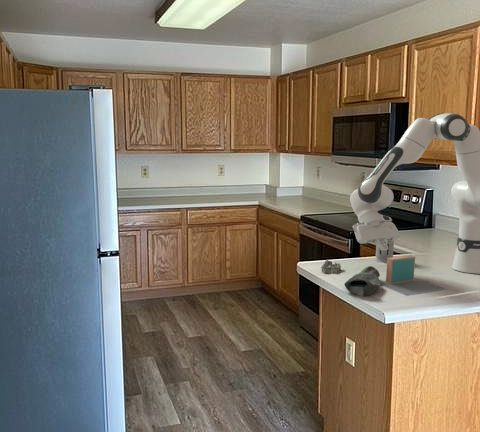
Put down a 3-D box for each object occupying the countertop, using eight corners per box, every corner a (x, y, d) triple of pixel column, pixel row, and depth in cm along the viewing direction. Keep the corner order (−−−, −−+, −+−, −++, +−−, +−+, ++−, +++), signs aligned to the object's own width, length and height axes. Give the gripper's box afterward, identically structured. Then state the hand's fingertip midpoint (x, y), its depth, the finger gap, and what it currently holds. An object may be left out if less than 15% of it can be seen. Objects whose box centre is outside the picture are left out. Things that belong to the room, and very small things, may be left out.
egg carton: (326, 267, 227) (327, 258, 226) (342, 269, 223) (343, 260, 223) (319, 272, 218) (319, 263, 217) (335, 275, 214) (336, 266, 214)
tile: (409, 279, 207) (410, 255, 205) (414, 280, 204) (415, 256, 202) (385, 282, 202) (387, 257, 200) (390, 284, 199) (391, 259, 198)
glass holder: (394, 258, 242) (396, 228, 240) (392, 266, 229) (394, 233, 226) (375, 257, 245) (377, 226, 243) (372, 264, 232) (374, 232, 229)
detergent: (374, 299, 183) (390, 280, 204) (373, 280, 182) (390, 263, 203) (339, 296, 190) (358, 278, 211) (338, 277, 189) (358, 261, 210)
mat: (413, 278, 210) (413, 276, 210) (447, 290, 194) (447, 289, 194) (374, 283, 202) (374, 282, 202) (406, 297, 186) (406, 295, 185)
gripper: (354, 219, 210) (368, 247, 203) (393, 216, 219) (407, 243, 212) (347, 228, 215) (360, 255, 208) (385, 225, 224) (399, 251, 216)
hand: (384, 249), depth 210 cm, fingers closed
